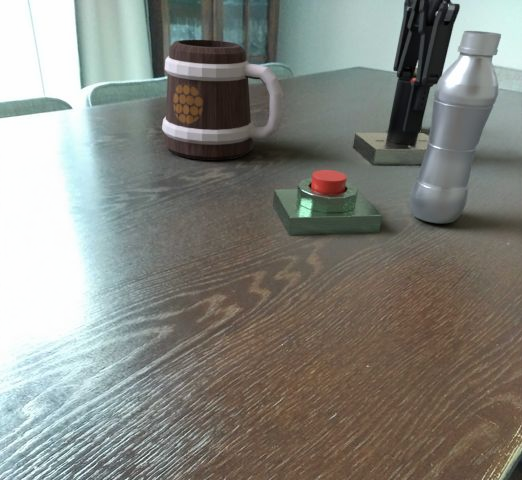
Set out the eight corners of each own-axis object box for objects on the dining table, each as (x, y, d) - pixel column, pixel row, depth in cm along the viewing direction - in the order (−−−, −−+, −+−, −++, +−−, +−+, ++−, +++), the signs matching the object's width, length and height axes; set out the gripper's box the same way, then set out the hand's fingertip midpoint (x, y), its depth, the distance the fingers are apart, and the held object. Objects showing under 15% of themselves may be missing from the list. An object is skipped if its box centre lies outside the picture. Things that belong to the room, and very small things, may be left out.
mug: (145, 152, 78) (135, 42, 69) (189, 132, 90) (186, 35, 81) (262, 173, 73) (268, 57, 64) (293, 148, 85) (302, 47, 76)
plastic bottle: (463, 232, 60) (525, 38, 47) (406, 226, 60) (453, 32, 48) (455, 213, 65) (510, 32, 53) (403, 207, 65) (445, 27, 53)
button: (338, 184, 60) (340, 169, 59) (349, 195, 57) (351, 180, 56) (307, 184, 60) (308, 169, 59) (316, 196, 57) (317, 181, 56)
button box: (354, 204, 65) (359, 174, 63) (379, 233, 58) (386, 199, 56) (272, 206, 63) (274, 174, 61) (288, 235, 56) (291, 201, 54)
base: (420, 147, 90) (424, 132, 88) (446, 164, 82) (451, 148, 80) (352, 147, 87) (355, 131, 86) (373, 165, 80) (376, 147, 78)
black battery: (388, 134, 86) (400, 74, 80) (418, 139, 84) (432, 77, 79) (384, 141, 82) (396, 78, 76) (414, 146, 81) (429, 82, 75)
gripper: (392, -55, 74) (365, 113, 88) (447, -59, 60) (404, 141, 74) (438, -51, 75) (404, 114, 89) (503, -55, 61) (450, 141, 75)
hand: (404, 126), depth 82 cm, fingers closed on black battery, 5 cm apart
